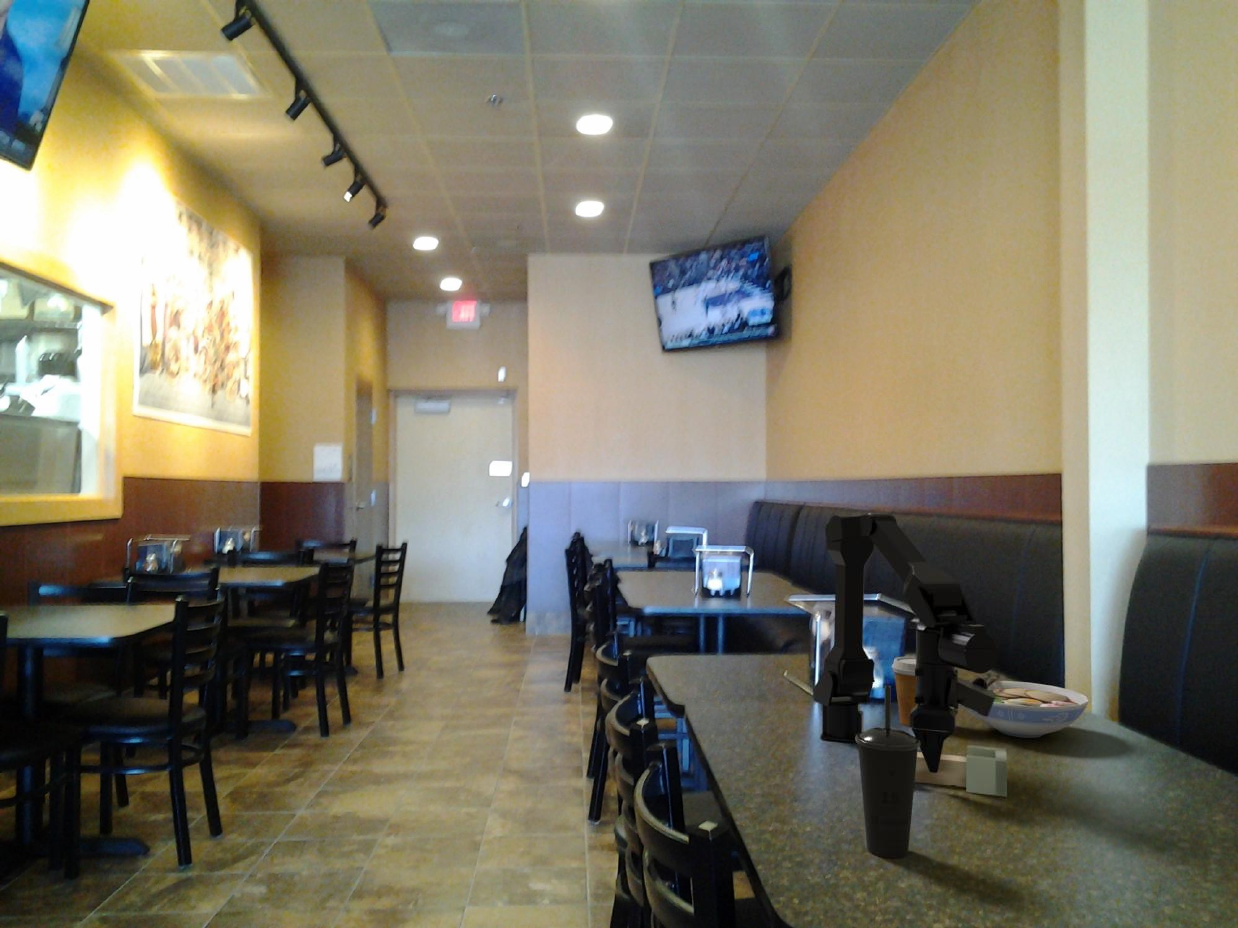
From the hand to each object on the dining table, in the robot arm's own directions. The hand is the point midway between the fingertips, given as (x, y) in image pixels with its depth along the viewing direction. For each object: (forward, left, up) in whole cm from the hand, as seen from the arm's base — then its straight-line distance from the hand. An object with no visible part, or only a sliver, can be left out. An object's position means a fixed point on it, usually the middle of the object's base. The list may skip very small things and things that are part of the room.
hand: (935, 764), depth 143 cm
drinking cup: (-4, -32, -3) cm, 32 cm away
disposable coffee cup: (-5, +36, -3) cm, 36 cm away
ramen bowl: (+13, +37, -3) cm, 39 cm away
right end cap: (+7, 0, -2) cm, 7 cm away
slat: (0, 0, -3) cm, 3 cm away
